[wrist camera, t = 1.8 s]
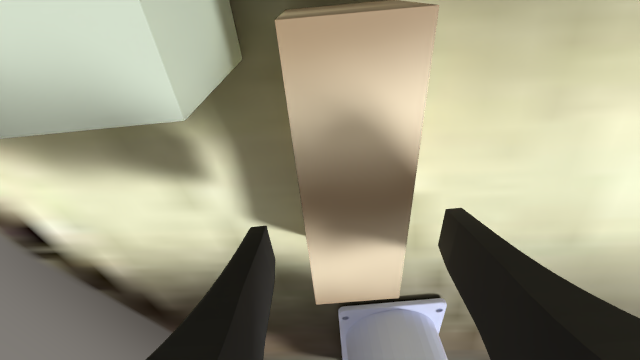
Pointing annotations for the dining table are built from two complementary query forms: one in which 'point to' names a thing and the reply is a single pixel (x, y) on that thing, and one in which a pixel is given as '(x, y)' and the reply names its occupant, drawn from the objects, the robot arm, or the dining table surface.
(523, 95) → the dining table surface
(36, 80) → the block
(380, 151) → the peg
